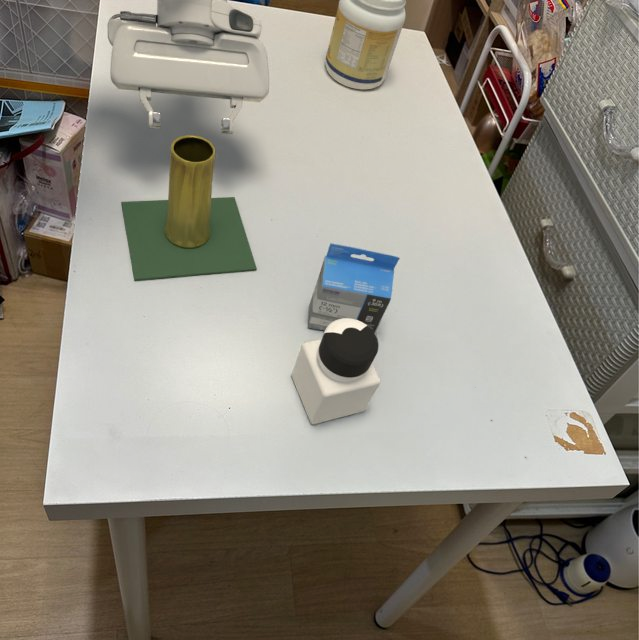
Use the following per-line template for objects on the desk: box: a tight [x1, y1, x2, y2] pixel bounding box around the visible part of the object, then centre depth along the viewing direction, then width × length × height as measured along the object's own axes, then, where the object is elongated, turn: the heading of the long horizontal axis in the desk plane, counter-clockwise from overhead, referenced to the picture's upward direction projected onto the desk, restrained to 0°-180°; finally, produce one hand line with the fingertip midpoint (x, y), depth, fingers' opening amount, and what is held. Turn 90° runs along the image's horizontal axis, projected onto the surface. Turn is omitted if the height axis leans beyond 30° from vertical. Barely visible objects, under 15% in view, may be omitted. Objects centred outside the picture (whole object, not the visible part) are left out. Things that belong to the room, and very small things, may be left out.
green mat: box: [120, 196, 258, 282], centre depth 83 cm, size 16×14×1 cm
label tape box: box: [307, 242, 401, 334], centre depth 75 cm, size 9×4×12 cm, turn 87°
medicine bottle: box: [291, 318, 382, 425], centre depth 68 cm, size 7×7×12 cm
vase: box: [165, 134, 216, 248], centre depth 77 cm, size 6×6×14 cm
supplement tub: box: [325, 0, 407, 91], centre depth 111 cm, size 12×12×17 cm
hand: (191, 130), depth 80 cm, fingers open, 8 cm apart
